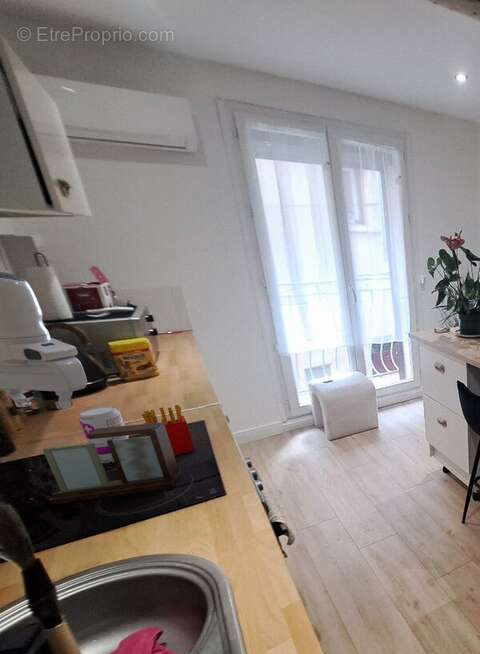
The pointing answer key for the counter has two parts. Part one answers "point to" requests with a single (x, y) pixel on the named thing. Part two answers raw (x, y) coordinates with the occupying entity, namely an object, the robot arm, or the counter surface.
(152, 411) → the french fries container
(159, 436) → the window frame
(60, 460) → the sliding pane
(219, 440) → the counter surface
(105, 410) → the supplement can
